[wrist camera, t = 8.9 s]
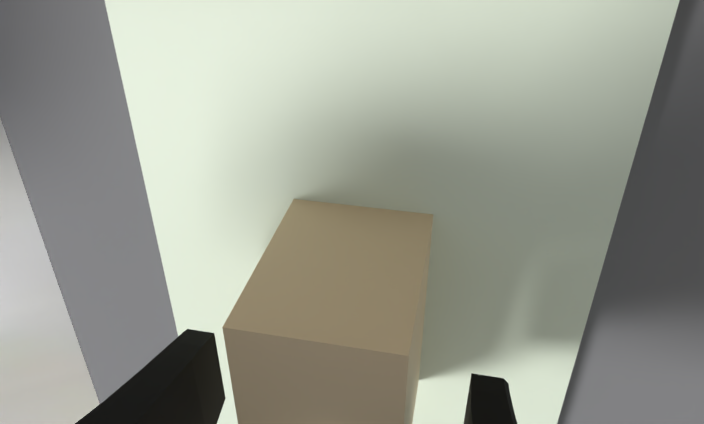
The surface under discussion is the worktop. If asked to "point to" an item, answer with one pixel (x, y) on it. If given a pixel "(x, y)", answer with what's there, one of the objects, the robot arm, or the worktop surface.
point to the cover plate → (386, 190)
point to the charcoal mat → (145, 260)
